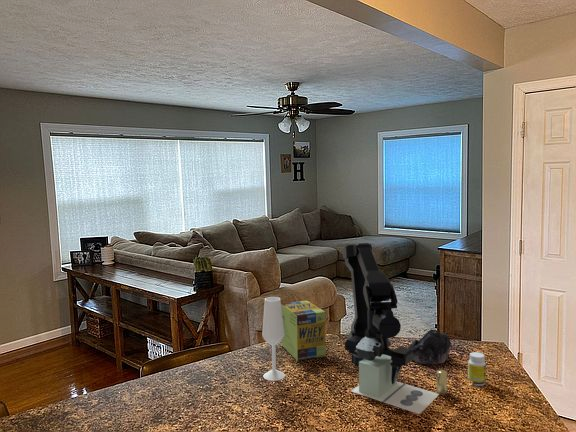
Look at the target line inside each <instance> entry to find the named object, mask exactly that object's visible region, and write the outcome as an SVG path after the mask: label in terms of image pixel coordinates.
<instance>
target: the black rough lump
mask: <svg viewBox="0 0 576 432" xmlns="http://www.w3.org/2000/svg"><path fill="white" fill-rule="evenodd" d="M451 346H452V342H451V339H450V337H449V335H448V334H447V333H445V332H442V333H440V331H439V330H437V329H430V330H428V331H427V332H426V333H425V334H424V335H423V336H422V337H421V338H419V340H418V339H415V340H413V341H412V342H411V343H410V345H408V346H407V348H408V349H411V350H412V351H413V353H414V359H413V360H412V361H414V362H416V363H417V364H421V365H423V364H425V365H437V364H444V363H445V361H446V360H447V357H448V356H449V353H450V347H451Z"/></svg>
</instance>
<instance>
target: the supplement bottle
mask: <svg viewBox="0 0 576 432" xmlns="http://www.w3.org/2000/svg"><path fill="white" fill-rule="evenodd" d="M485 361H486V359H485V354H484V353H482V352H477V351H473V352H470V353H469V359H468V362H467V363H468V365H467V380H469V381H471V382H473V383H471V385H472V386H476V387H478V386H479V387H483V386H484V385H486V377H487V376H486V372H487V371H486V369H487V368H486V367H487V363H486V362H485Z"/></svg>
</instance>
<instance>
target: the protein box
mask: <svg viewBox="0 0 576 432" xmlns="http://www.w3.org/2000/svg"><path fill="white" fill-rule="evenodd" d="M281 309H282V318H283V327H284V337H283V339H282V340H281V346H282V347H283V348H284V349H285V350H286V351H287V352H288V354H290V355H291V356H292V357H293V358H294V359H295V360H296V361H297V362H298V361H299V362H300V361H304V360H308V359H309V360H310V359H315V358H323V357H325V356H326V311H324V310H323V309H321V308H320V307H318V306H317V305H315V304H313V303H312V302H310V301H309V300H300V301H299V300H298V301H293V302H291V301H290V302H283V303H282V302H281Z"/></svg>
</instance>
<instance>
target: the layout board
mask: <svg viewBox="0 0 576 432" xmlns="http://www.w3.org/2000/svg"><path fill="white" fill-rule="evenodd" d="M350 392H351V393H355V394H358V395H361V396H364V397H367V398H370V399H373V400H376V401H379V402H381V403H383V404H384V403H385V404H388V405H391V406H394V407H398V408H400V409H402V410H406V411H409V412H410V413H411V412H412V413H414V414H418V415H420V414H421V413H422V412H424V411H425V409H427V408H428V406H430V404H431V403H432V402H433V401H434V400H435V399H437V397H438V396H439V395H440V394H438V393H437V392H434V391H431V390H430V391H429V390H427V389H424V388H421V387H416V386H413V385H411V384H406V383H405V382H404V383H403V382H400V381H397V384H395V385H394V386H393V387H392V388H390V389H389V390H388V391H387V392H385V393H384V394H383V395H382V396H381V397H379V398H377V397H374V396H371V395H367V394H364V393H361V392H359V384H358V385H357V386H356V387H354V388H353V389H352V390H350Z"/></svg>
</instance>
